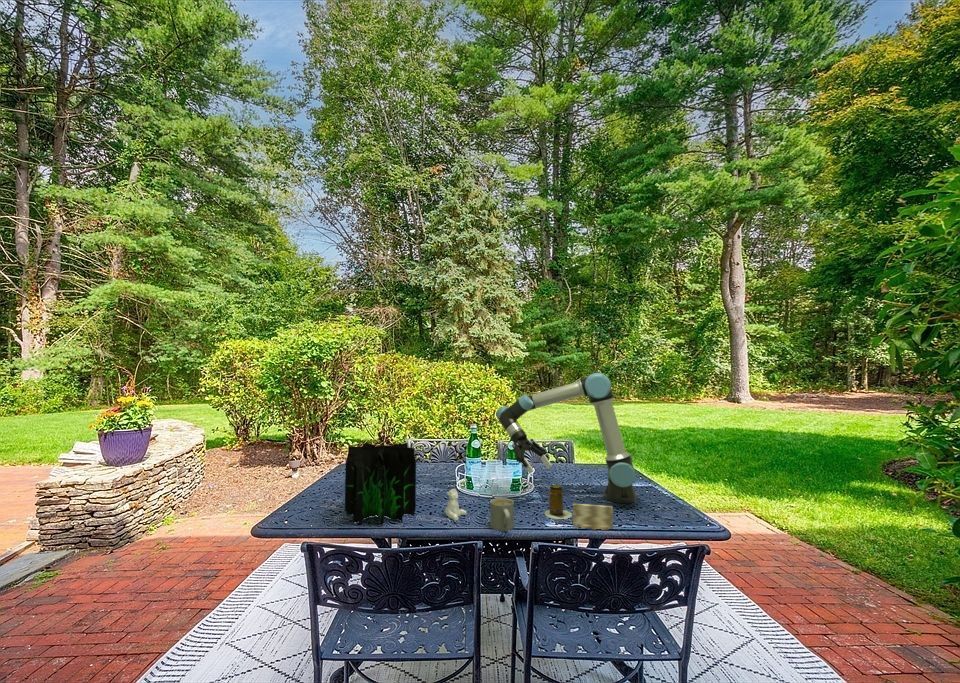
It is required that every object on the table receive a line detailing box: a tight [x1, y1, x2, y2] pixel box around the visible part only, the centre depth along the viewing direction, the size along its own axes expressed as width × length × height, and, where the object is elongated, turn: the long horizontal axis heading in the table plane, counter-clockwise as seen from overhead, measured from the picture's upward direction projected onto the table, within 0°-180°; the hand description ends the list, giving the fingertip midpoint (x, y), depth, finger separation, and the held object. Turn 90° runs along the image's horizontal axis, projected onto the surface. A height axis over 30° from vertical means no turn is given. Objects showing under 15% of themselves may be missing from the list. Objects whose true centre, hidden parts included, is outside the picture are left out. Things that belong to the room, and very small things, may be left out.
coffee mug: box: [489, 497, 515, 532], centre depth 180 cm, size 13×10×10 cm
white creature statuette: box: [444, 488, 467, 522], centre depth 193 cm, size 10×9×12 cm
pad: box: [544, 509, 573, 520], centre depth 195 cm, size 12×12×1 cm
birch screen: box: [572, 503, 614, 531], centre depth 181 cm, size 16×4×9 cm, turn 78°
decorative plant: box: [344, 441, 417, 525], centre depth 196 cm, size 29×30×30 cm
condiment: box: [547, 484, 569, 517], centre depth 195 cm, size 7×8×12 cm
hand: (541, 469), depth 205 cm, fingers open, 13 cm apart
